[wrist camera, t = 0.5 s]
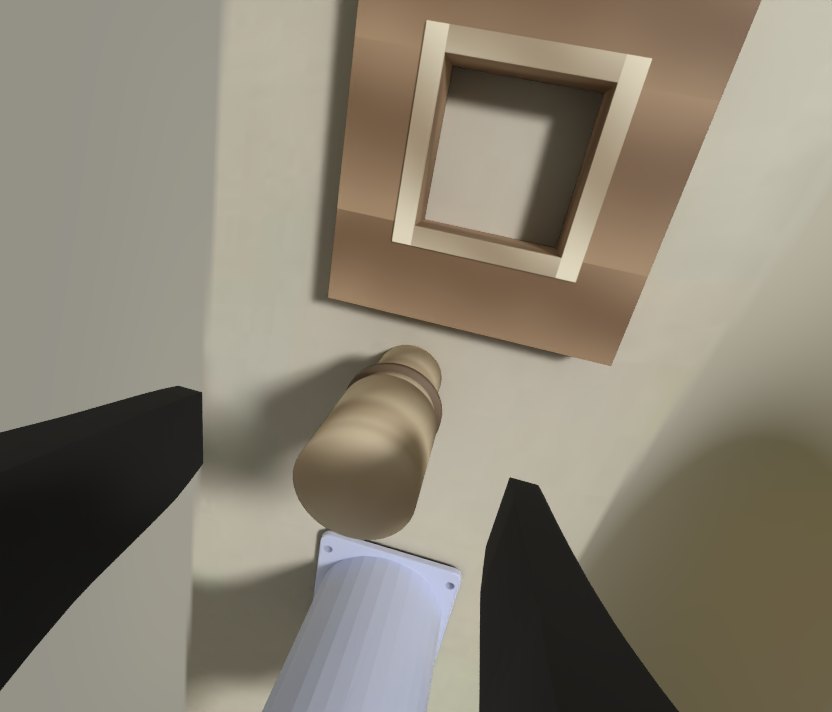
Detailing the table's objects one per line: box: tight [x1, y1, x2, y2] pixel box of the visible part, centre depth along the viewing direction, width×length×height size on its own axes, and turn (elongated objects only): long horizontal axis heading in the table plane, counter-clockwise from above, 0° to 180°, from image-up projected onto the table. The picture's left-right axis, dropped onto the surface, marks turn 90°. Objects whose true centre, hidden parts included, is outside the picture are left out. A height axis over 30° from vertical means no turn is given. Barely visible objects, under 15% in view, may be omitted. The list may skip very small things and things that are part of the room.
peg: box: [293, 345, 442, 540], centre depth 17 cm, size 4×4×8 cm
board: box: [328, 0, 761, 366], centre depth 15 cm, size 12×11×2 cm
